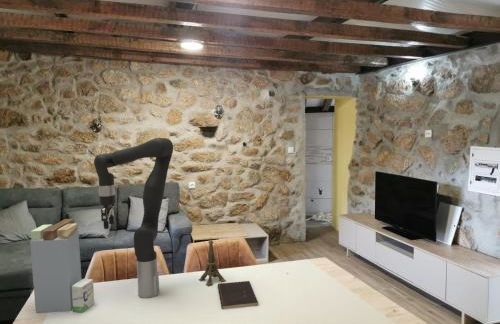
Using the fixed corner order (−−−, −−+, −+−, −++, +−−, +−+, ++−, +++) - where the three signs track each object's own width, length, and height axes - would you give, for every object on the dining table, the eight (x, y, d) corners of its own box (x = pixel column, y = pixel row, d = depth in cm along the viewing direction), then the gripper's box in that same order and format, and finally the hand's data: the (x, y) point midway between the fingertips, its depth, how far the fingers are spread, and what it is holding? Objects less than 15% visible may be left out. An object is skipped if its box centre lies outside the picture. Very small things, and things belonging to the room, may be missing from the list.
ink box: (85, 302, 168) (83, 277, 167) (95, 303, 167) (93, 278, 166) (72, 312, 160) (70, 285, 159) (82, 313, 159) (81, 286, 158)
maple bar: (77, 231, 170) (76, 223, 169) (67, 238, 159) (66, 229, 159) (68, 232, 170) (68, 223, 169) (57, 239, 159) (57, 230, 158)
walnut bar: (74, 226, 179) (73, 218, 179) (53, 240, 158) (52, 231, 157) (65, 227, 179) (65, 218, 179) (43, 240, 157) (42, 231, 157)
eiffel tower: (215, 275, 197) (214, 229, 195) (226, 281, 189) (224, 233, 186) (198, 280, 191) (196, 233, 189) (208, 286, 183) (206, 237, 180)
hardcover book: (249, 285, 184) (249, 280, 184) (257, 306, 162) (257, 301, 162) (217, 288, 182) (217, 283, 182) (221, 310, 159) (221, 305, 159)
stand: (82, 297, 174) (78, 231, 171) (71, 311, 161) (66, 239, 158) (50, 299, 173) (45, 232, 170) (35, 312, 160) (30, 241, 157)
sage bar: (52, 232, 169) (52, 224, 169) (41, 240, 158) (40, 230, 158) (44, 233, 169) (43, 224, 169) (31, 240, 158) (30, 231, 158)
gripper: (110, 196, 174) (112, 230, 176) (118, 191, 188) (120, 222, 190) (94, 197, 174) (96, 230, 175) (103, 191, 188) (105, 223, 189)
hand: (109, 226), depth 182 cm, fingers open, 8 cm apart
